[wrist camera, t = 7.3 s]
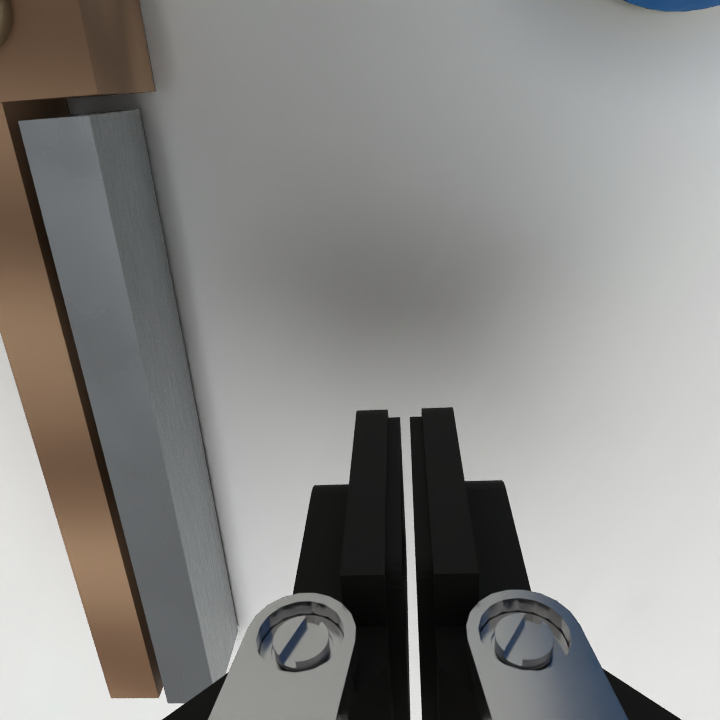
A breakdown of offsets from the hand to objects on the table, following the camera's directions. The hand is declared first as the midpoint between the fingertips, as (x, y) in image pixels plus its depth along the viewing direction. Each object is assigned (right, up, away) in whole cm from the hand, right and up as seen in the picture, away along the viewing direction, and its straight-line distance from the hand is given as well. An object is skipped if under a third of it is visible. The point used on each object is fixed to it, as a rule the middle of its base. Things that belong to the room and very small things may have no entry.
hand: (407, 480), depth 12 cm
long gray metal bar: (-7, 0, +9) cm, 11 cm away
